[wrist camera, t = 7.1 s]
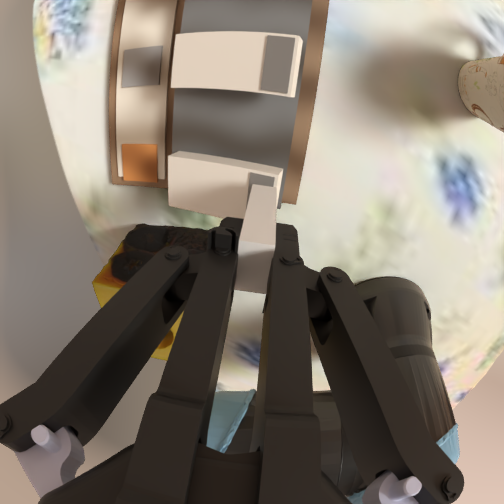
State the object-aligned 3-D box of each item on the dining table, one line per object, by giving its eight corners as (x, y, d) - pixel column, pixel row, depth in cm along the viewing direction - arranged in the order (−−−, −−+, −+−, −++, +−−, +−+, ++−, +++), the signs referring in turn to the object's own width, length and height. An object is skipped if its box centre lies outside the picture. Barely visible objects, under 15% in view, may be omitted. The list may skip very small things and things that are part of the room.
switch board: (295, 200, 25) (297, 217, 22) (117, 180, 25) (99, 194, 22) (330, -32, 12) (338, -47, 9) (130, -30, 12) (112, -39, 9)
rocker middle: (296, 97, 16) (290, 97, 14) (188, 87, 17) (169, 87, 15) (304, 43, 14) (299, 35, 12) (193, 38, 15) (175, 34, 13)
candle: (227, 230, 28) (205, 299, 20) (224, 301, 33) (209, 370, 25) (135, 220, 28) (88, 278, 20) (147, 289, 34) (117, 350, 25)
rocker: (277, 215, 21) (269, 230, 19) (183, 194, 22) (168, 206, 20) (285, 165, 19) (278, 175, 17) (184, 148, 20) (167, 156, 18)
